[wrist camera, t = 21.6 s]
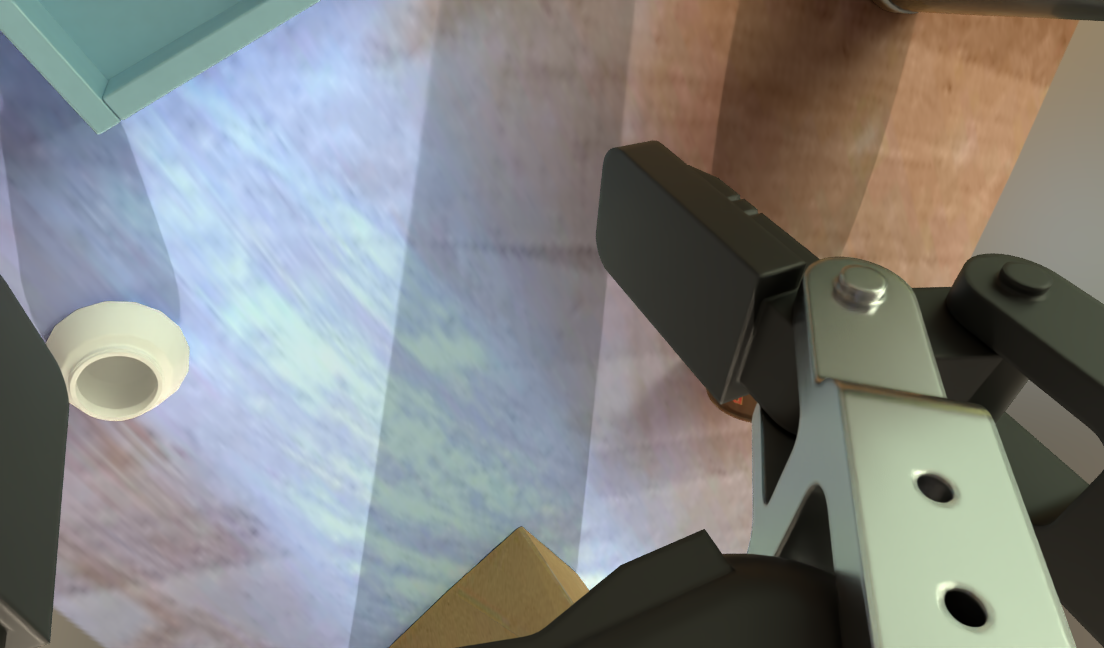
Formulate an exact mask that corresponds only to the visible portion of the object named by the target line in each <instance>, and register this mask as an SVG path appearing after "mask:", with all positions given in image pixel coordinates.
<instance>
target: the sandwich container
mask: <svg viewBox="0 0 1104 648" xmlns="http://www.w3.org/2000/svg"><path fill="white" fill-rule="evenodd" d="M587 592H589V590H588V588H587V587H586V585H585V584H584V583H583V581H582V580H581V579H580V577H579V576H578V574H577V573H576V572H574V571H573V570H572V569H571V568H570V567H569V566H567V565H566V564H565V563H564V562H563V561H562V560H561V559H559V558H558V557H557V556H556V555H555V554H554V553H553V552H552V551H550V550H549V549H548V548H547V547H545V546H544V545H543V544H542V543H541V542H540V541H538V540H537V539H536V538H535V537H534V536H533V535H531V534H530V533H529V532H528V531H527V530H526V529H524V528H523V527H519V528H518V529H517V530H515V531H514V532H513V533H512V534H511V535H510V536H509V537H508V538H507V539H505V540H504V541H503V542H502V543H501V544H500V545H499V546H498V547H496V548H495V549H494V550H493V551H492V552H491V553H490V554H489V555H488V556H486V557H485V558H484V559H483V560H482V561H481V562H480V563H479V564H477V565H476V566H475V567H474V568H473V569H472V570H471V571H470V572H469V573H467V574H466V575H465V576H464V577H463V578H462V579H461V580H460V581H458V582H457V583H456V584H455V585H454V586H453V587H452V588H451V589H450V590H448V591H447V592H446V593H445V594H444V595H443V596H442V597H441V598H440V599H439V600H438V601H437V602H436V603H435V604H434V605H433V606H432V607H431V608H430V609H429V610H428V611H427V612H426V613H424V614H423V615H422V616H421V617H420V618H419V619H418V620H417V621H416V622H415V623H414V624H413V625H412V626H411V627H410V628H409V629H408V630H407V631H406V632H405V633H404V634H403V635H402V636H401V637H399V638H398V639H397V640H396V641H395V642H394V643H393V644H392V645H391V646H390V647H389V648H456V647H462V646H468V645H475V644H481V643H487V642H493V641H499V640H506V639H512V638H518V637H524V636H528V635H532V634H534V633H536V632H539V631H540V630H542V629H543V628H545V627H546V626H547V625H548V624H550V623H551V622H552V621H553V620H555V619H556V618H557V617H558V616H559V615H561V614H562V613H563V612H564V611H566V610H567V609H568V608H569V607H570V606H572V605H573V604H574V603H575V602H576V601H578V600H579V599H580V598H581V597H583V596H584V595H585V594H586V593H587Z"/></svg>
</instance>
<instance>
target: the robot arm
mask: <svg viewBox="0 0 1104 648" xmlns="http://www.w3.org/2000/svg"><path fill="white" fill-rule="evenodd" d="M873 1H874V2H875V3H876V4H877V5H878V6H879V7H880V8H882V9H884V10H886V11H888V12H892V13H908V14H912V13H919V12H925V13H946V14H961V15H983V16H1005V17H1027V18H1049V19H1071V20H1094V21H1104V0H873ZM596 242H597V248H598V253H599V256H600V259H601V261H602V263H603V265H604V267H605V269H606V270H607V271H608V273H609V274H610V275H611V276H612V277H613V279H614V280H615V281H616V282H617V283H618V285H619V286H620V287H621V288H622V289H623V290H624V292H625V293H626V294H627V295H628V296H629V298H630V299H631V300H632V301H633V302H634V303H635V305H636V306H637V307H638V308H639V309H640V311H641V312H642V313H643V314H644V315H645V316H646V318H647V319H648V320H649V321H650V322H651V324H652V325H653V326H654V327H655V328H656V329H657V331H658V332H659V333H660V334H661V335H662V337H663V338H664V339H665V340H666V341H667V342H668V344H669V345H670V346H671V347H672V348H673V350H674V351H675V352H676V353H677V354H678V355H679V357H680V358H681V359H682V360H683V361H684V363H685V364H686V365H687V366H688V367H689V368H690V370H691V371H692V372H693V373H694V374H695V376H696V377H697V378H698V379H699V380H700V381H701V383H702V384H703V385H704V386H705V387H706V389H707V390H708V391H709V392H710V393H711V394H712V396H713V397H714V398H715V399H716V400H717V402H718V403H719V404H720V405H721V404H724V403H727V402H730V401H732V400H735V399H738V398H741V397H743V396H746V395H749V394H750V395H751V396H752V397H753V398H754V399H755V401H756V402H757V404H756V407H755V409H754V412H753V415H752V484H753V523H752V532H751V538H750V543H749V547H748V551H747V554H722V553H721V552H720V550H719V549H718V547H717V546H716V545H715V543H714V542H713V540H712V539H711V537H710V536H709V535H708V533H707V532H706V530H705V529H703V530H701V531H699V532H696V533H694V534H692V535H689V536H687V537H685V538H683V539H680V540H678V541H676V542H673V543H671V544H669V545H666V546H664V547H662V548H659V549H657V550H655V551H653V552H650V553H648V554H646V555H643V556H641V557H639V558H636V559H634V560H632V561H629V562H627V563H625V564H623V565H620V566H619V567H618V568H617V569H615V570H614V571H613V572H612V573H611V574H609V575H608V576H607V577H606V578H605V579H603V580H602V581H601V582H600V583H598V584H597V585H596V586H595V587H594V588H592V589H591V590H590V591H589V592H587V593H586V594H585V595H584V596H583V597H581V598H580V599H579V600H578V601H576V602H575V603H574V604H573V605H572V606H570V607H569V608H568V609H567V610H566V611H564V612H563V613H562V614H561V615H559V616H558V617H557V618H556V619H555V620H553V621H552V622H551V623H550V624H548V625H547V626H546V627H545V628H543V629H542V630H540V631H539V632H536V633H534V634H532V635H528V636H524V637H518V638H512V639H506V640H499V641H493V642H487V643H481V644H475V645H468V646H462V647H456V648H1076V645H1075V642H1074V640H1073V637H1072V634H1071V631H1070V628H1069V626H1068V623H1067V620H1066V618H1065V615H1064V612H1063V609H1062V606H1061V604H1062V605H1063V606H1064V607H1065V608H1066V609H1067V610H1068V611H1069V612H1070V613H1071V614H1072V615H1073V616H1074V617H1075V618H1076V619H1077V621H1078V622H1080V624H1081V625H1082V626H1083V627H1084V628H1085V629H1086V630H1087V631H1088V632H1089V633H1090V634H1091V635H1092V636H1093V637H1094V638H1095V639H1096V640H1097V641H1098V642H1099V643H1100V644H1101V645H1102V646H1103V647H1104V470H1103V471H1102V473H1101V474H1100V475H1099V476H1098V477H1097V478H1096V479H1095V480H1094V481H1093V482H1092V483H1091V484H1090V485H1089V484H1088V483H1086V482H1085V481H1084V480H1083V479H1082V478H1081V477H1080V476H1078V475H1077V474H1076V473H1075V472H1074V471H1073V470H1072V469H1070V468H1069V467H1068V466H1067V465H1066V464H1065V463H1064V462H1062V461H1061V460H1060V459H1059V458H1058V457H1057V456H1056V455H1054V454H1053V453H1052V452H1051V451H1050V450H1049V449H1047V448H1046V447H1045V446H1044V445H1043V444H1042V443H1041V442H1039V441H1038V440H1037V439H1036V438H1034V436H1033V435H1031V434H1030V433H1029V432H1028V431H1027V430H1026V429H1024V428H1023V427H1022V426H1021V425H1020V424H1019V423H1017V422H1016V421H1015V420H1014V419H1013V418H1012V417H1010V416H1009V415H1008V414H1007V413H1006V412H1005V411H1006V409H1007V408H1008V407H1009V405H1010V404H1011V403H1012V401H1013V400H1014V399H1015V397H1016V396H1017V395H1018V393H1019V392H1020V391H1021V389H1022V388H1023V387H1024V385H1025V384H1026V383H1027V381H1028V380H1030V381H1032V382H1033V383H1034V384H1036V385H1037V386H1038V387H1039V388H1040V389H1042V390H1043V391H1044V392H1045V393H1047V394H1048V395H1049V396H1051V397H1052V398H1053V399H1054V400H1055V401H1057V402H1058V403H1059V404H1060V405H1061V406H1063V407H1064V408H1065V409H1066V410H1068V411H1069V412H1070V413H1071V414H1073V415H1074V416H1075V417H1076V418H1078V419H1079V420H1080V421H1081V422H1083V423H1084V424H1085V425H1086V426H1088V427H1089V428H1090V429H1091V430H1092V431H1093V432H1094V433H1095V434H1096V435H1097V436H1098V437H1099V439H1100V440H1101V442H1102V443H1103V446H1104V304H1102V303H1101V302H1099V301H1098V300H1096V299H1095V298H1093V297H1092V296H1090V295H1089V294H1087V293H1086V292H1084V291H1083V290H1081V289H1080V288H1078V287H1077V286H1075V285H1073V284H1072V283H1071V282H1069V281H1068V280H1066V279H1064V278H1063V277H1061V276H1060V275H1058V274H1057V273H1055V272H1053V271H1052V270H1050V269H1048V268H1046V267H1044V266H1042V265H1040V264H1037V263H1034V262H1032V261H1029V260H1026V259H1023V258H1019V257H1015V256H1011V255H1004V254H982V255H977V256H974V257H972V258H970V259H969V260H967V262H966V263H965V264H964V266H963V268H962V269H961V271H960V273H959V275H958V277H957V278H956V280H955V282H954V284H953V285H952V287H930V288H911V287H910V286H909V285H908V284H907V283H906V282H905V281H904V280H903V279H902V278H900V277H899V276H898V275H896V274H895V273H893V272H892V271H890V270H888V269H886V268H884V267H882V266H880V265H877V264H875V263H872V262H869V261H865V260H861V259H856V258H850V257H829V258H824V259H819V258H817V257H816V256H815V255H814V254H812V253H811V252H810V251H809V250H807V249H806V248H805V247H804V246H802V245H801V244H800V243H799V242H797V241H796V240H795V239H794V238H793V237H791V236H790V235H789V234H788V233H786V232H785V231H784V230H783V229H781V228H780V227H779V226H778V225H776V224H775V223H774V222H773V221H771V220H770V219H769V218H768V217H766V216H765V215H764V214H763V213H760V214H758V212H757V209H756V208H755V207H754V206H753V205H751V204H750V203H749V202H748V201H746V200H745V199H740V195H739V194H738V193H736V192H735V191H734V190H733V189H731V188H730V187H729V186H728V185H726V184H725V183H724V182H723V181H721V180H720V179H719V178H717V177H715V176H713V175H710V174H708V173H706V172H703V171H701V170H699V169H696V168H694V167H692V166H690V165H687V164H686V163H685V162H683V161H682V160H681V159H680V158H678V157H677V156H676V155H675V154H674V153H672V152H671V151H670V150H669V149H668V148H666V147H665V146H664V145H663V144H661V143H660V142H658V141H648V142H642V143H637V144H632V145H627V146H621V147H616V148H612V149H610V150H609V151H608V152H607V153H606V155H605V158H604V162H603V169H602V179H601V189H600V199H599V209H598V219H597V229H596ZM68 416H69V398H68V392H67V387H66V384H65V380H64V377H63V375H62V372H61V370H60V367H59V365H58V363H57V361H56V360H55V358H54V356H53V355H52V353H51V352H50V350H49V349H48V347H47V345H46V344H45V342H44V341H43V339H42V338H41V336H40V334H39V333H38V331H37V330H36V328H35V327H34V325H33V324H32V322H31V320H30V319H29V317H28V316H27V314H26V313H25V311H24V309H23V308H22V306H21V305H20V303H19V302H18V300H17V299H16V297H15V295H14V294H13V292H12V291H11V289H10V288H9V286H8V284H7V283H6V282H5V280H4V279H3V277H2V276H1V275H0V648H38V647H41V646H44V645H46V644H49V643H50V636H51V624H52V612H53V599H54V587H55V575H56V563H57V550H58V538H59V526H60V514H61V501H62V489H63V477H64V465H65V452H66V440H67V428H68ZM1060 603H1061V604H1060Z"/></svg>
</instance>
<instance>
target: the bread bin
mask: <svg viewBox="0 0 1104 648" xmlns="http://www.w3.org/2000/svg"><path fill="white" fill-rule="evenodd" d="M319 1H321V0H0V31H1V32H2V33H3V34H4V35H5V36H6V37H7V38H8V39H9V40H10V41H11V42H12V43H13V45H14V46H15V47H16V48H17V49H18V50H19V51H20V52H21V53H22V54H23V55H24V56H25V57H26V59H27V60H28V61H29V62H30V63H31V64H32V65H33V66H34V67H35V68H36V69H37V70H38V71H39V72H40V74H41V75H42V76H43V77H44V78H45V79H46V80H47V81H48V82H49V83H50V84H51V85H52V86H53V88H54V89H55V90H56V91H57V92H58V93H59V94H60V95H61V96H62V97H63V98H64V99H65V100H66V101H67V103H68V104H69V105H70V106H71V107H72V108H73V109H74V110H75V111H76V112H77V113H78V114H79V115H80V117H81V118H82V119H83V120H84V121H85V122H86V123H87V124H88V125H89V126H90V127H91V128H92V129H93V130H94V132H95V133H96V134H98V135H99V134H102V133H103V132H105V131H107V130H108V129H110V128H112V127H113V126H115V125H117V124H118V123H120V121H121V120H125V119H126V118H128V117H130V116H131V115H133V114H135V113H136V112H138V111H140V110H141V109H143V108H144V107H146V106H148V105H149V104H151V103H153V102H154V101H156V100H158V99H159V98H161V97H163V96H164V95H166V94H168V93H169V92H171V91H172V90H174V89H176V88H177V87H179V86H181V85H182V84H184V83H186V82H187V81H189V80H191V79H192V78H194V77H195V76H197V75H199V74H200V73H202V72H204V71H205V70H207V69H209V68H210V67H212V66H214V65H215V64H217V63H219V62H220V61H222V60H223V59H225V58H227V57H228V56H230V55H232V54H233V53H235V52H237V51H238V50H240V49H242V48H243V47H245V46H246V45H248V44H250V43H251V42H253V41H255V40H256V39H258V38H260V37H261V36H263V35H265V34H266V33H268V32H270V31H271V30H273V29H274V28H276V27H278V26H279V25H281V24H283V23H284V22H286V21H288V20H289V19H291V18H293V17H294V16H296V15H297V14H299V13H301V12H302V11H304V10H306V9H307V8H309V7H311V6H312V5H314V4H316V3H317V2H319Z"/></svg>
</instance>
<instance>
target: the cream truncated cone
mask: <svg viewBox="0 0 1104 648" xmlns="http://www.w3.org/2000/svg"><path fill="white" fill-rule="evenodd" d="M46 345H47V347H48V349H49V350H50V352H51V353H52V355H53V356H54V358H55V360H56V361H57V363H58V365H59V367H60V370H61V372H62V375H63V377H64V380H65V384H66V387H67V392H68V398H69V403H71V404H72V405H74V406H75V407H77V408H78V409H80V410H81V411H83V412H84V413H86V414H88V415H90V416H92V417H95V418H98V419H102V420H108V421H120V420H127V419H131V418H134V417H137V416H139V415H141V414H143V413H145V412H147V411H149V410H151V409H153V408H154V407H156V406H158V405H159V404H160V403H162V402H163V401H164V400H165V399H167V398H168V397H169V396H171V395H172V394H173V393H175V392H176V391H177V390H178V389H179V387H180V385H181V383H182V382H183V380H184V378H185V376H186V374H187V373H188V370H189V346H188V343H187V341H186V339H185V337H184V335H183V333H182V331H181V329H180V327H179V326H178V325H177V324H175V323H174V322H173V321H172V320H171V319H169V318H168V317H167V316H166V315H165V314H163V313H162V312H161V311H159V310H156V309H153V308H150V307H147V306H144V305H142V304H139V303H136V302H114V301H104V302H101V303H97V304H94V305H91V306H87V307H84V308H80V309H77V310H76V311H74V312H73V313H72V314H70V315H69V316H68V317H66V318H65V319H63V320H62V321H61V322H59V323H58V324H57V325H55V327H54V329H53V331H52V333H51V334H50V336H49V338H48V340H47V342H46Z"/></svg>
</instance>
